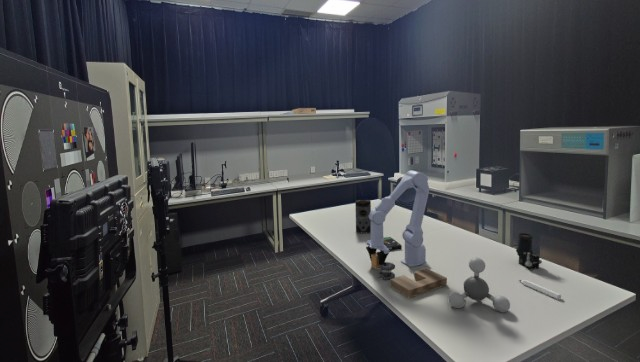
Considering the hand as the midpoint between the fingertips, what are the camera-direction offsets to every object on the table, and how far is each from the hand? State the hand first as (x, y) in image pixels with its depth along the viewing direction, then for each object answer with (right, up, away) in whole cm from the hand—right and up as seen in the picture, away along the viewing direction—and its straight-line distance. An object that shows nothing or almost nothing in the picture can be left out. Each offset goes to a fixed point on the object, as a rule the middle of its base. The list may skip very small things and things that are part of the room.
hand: (377, 263), depth 153 cm
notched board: (+14, -4, -19) cm, 24 cm away
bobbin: (+2, -3, -10) cm, 10 cm away
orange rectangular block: (0, -2, 0) cm, 2 cm away
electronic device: (+1, +6, +53) cm, 53 cm away
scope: (+67, 0, -4) cm, 67 cm away
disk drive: (+10, +2, +28) cm, 30 cm away
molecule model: (+32, -6, -35) cm, 47 cm away
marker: (+58, -4, -26) cm, 63 cm away
